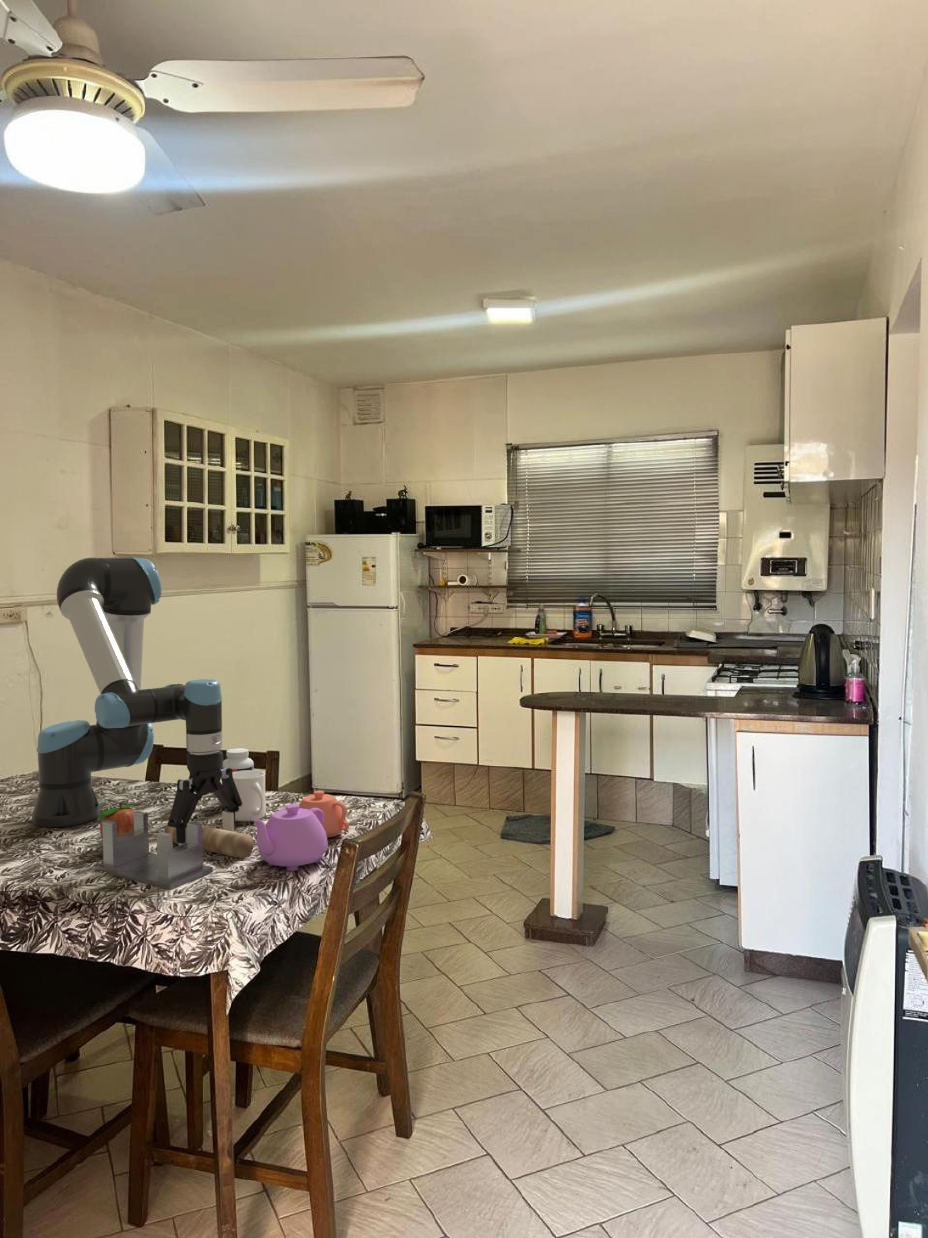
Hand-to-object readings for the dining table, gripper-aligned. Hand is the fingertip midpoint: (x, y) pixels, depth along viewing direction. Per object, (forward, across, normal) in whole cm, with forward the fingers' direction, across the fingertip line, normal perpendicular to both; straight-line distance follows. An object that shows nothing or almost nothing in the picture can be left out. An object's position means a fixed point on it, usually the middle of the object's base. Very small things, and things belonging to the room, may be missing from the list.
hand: (207, 848), depth 190 cm
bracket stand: (0, -15, 0) cm, 15 cm away
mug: (0, +22, +8) cm, 23 cm away
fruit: (0, -8, +18) cm, 20 cm away
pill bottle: (0, +29, +19) cm, 35 cm away
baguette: (0, 0, 0) cm, 0 cm away
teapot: (+1, +2, -22) cm, 22 cm away
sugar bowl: (+1, +20, -16) cm, 26 cm away
